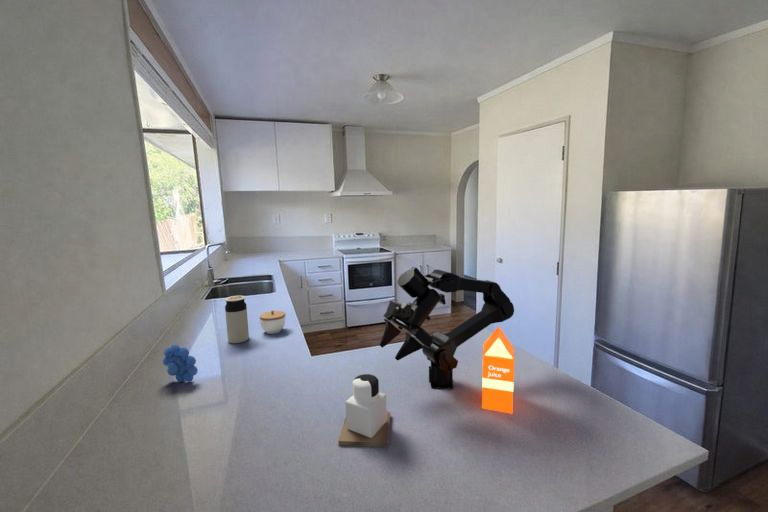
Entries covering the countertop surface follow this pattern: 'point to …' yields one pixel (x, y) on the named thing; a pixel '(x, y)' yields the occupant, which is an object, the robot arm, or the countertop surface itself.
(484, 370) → the orange juice
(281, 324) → the lidded jar
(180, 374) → the grapes
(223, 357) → the countertop surface
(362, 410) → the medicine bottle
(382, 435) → the walnut board
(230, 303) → the travel mug
